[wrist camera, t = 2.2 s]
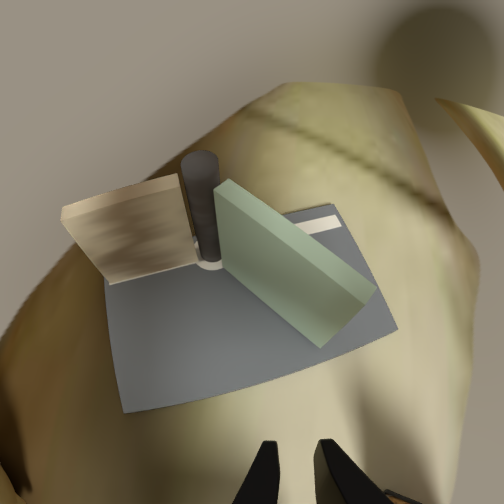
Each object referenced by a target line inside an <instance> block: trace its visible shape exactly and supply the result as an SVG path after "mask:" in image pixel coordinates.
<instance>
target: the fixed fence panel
mask: <svg viewBox="0 0 504 504" xmlns="http://www.w3.org/2000/svg"><path fill="white" fill-rule="evenodd" d="M181 169H182V174H183V179H184V184H185V188H186V193H187V198H188V202H189V207H190V211H191V216H192V220H193V225H194V229H195V233H196V238H197V242H198V246H199V250H200V254H201V257H202V258H203V259H204V260H205V261H207V262H218V261H220V260H221V259H222V258H221V250H220V242H219V234H218V226H217V218H216V209H215V201H214V192H213V189H215V188H216V187H218V186H219V185H220V177H219V164H218V158H217V156H216V155H215V154H214V153H212V152H210V151H204V150H200V151H194V152H192V153H189V154H188V155H186V156H185V157H184V158H183V159H182V161H181ZM61 222H62V224H63V225H64V226H65V228H66V229H67V231H68V232H69V233H70V235H71V236H72V237H73V239H74V240H75V241H76V242H77V244H78V245H79V246H80V248H81V249H82V250H83V251H84V253H85V254H86V255H87V256H88V258H89V259H90V260H91V261H92V263H93V264H94V265H95V266H96V267H97V269H98V270H99V271H100V272H101V273H102V275H103V276H104V277H105V278H106V279H107V280H108V282H109V283H110V284H111V283H115V282H119V281H122V280H126V279H130V278H134V277H138V276H142V275H146V274H150V273H154V272H157V271H161V270H165V269H169V268H173V267H177V266H181V265H185V264H189V263H193V262H197V261H198V257H197V253H196V249H195V245H194V241H193V237H192V233H191V229H190V225H189V221H188V217H187V213H186V209H185V205H184V200H183V196H182V192H181V187H180V183H179V179H178V174H177V173H176V174H172V175H168V176H164V177H160V178H156V179H152V180H148V181H145V182H141V183H138V184H134V185H130V186H127V187H123V188H120V189H117V190H113V191H110V192H107V193H104V194H100V195H97V196H94V197H91V198H88V199H85V200H82V201H79V202H76V203H73V204H70V205H67V206H64V207H62V215H61Z"/></svg>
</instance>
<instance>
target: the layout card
mask: <svg viewBox="0 0 504 504" xmlns="http://www.w3.org/2000/svg"><path fill="white" fill-rule="evenodd" d="M282 216H283V217H285V218H286V219H287V220H289V221H290V222H292V223H293V224H294V225H296V226H297V227H299V228H300V229H301V230H303V231H304V232H305V233H307V234H308V235H309V236H311V237H312V238H313V239H315V240H316V241H318V242H319V243H320V244H322V245H323V246H324V247H326V248H327V249H328V250H330V251H331V252H332V253H334V254H335V255H336V256H338V257H339V258H340V259H341V260H343V261H344V262H345V263H347V264H348V265H349V266H351V267H352V268H353V269H355V270H356V271H357V272H358V273H360V274H361V275H362V276H364V277H365V278H366V279H367V280H369V281H370V282H371V283H372V284H374V285H375V286H376V287H377V289H376V290H375V292H374V293H373V295H372V296H371V297H370V299H369V300H368V302H367V303H366V305H365V306H364V307H363V308H362V309H361V310H360V311H359V312H358V313H357V314H356V315H355V316H354V317H353V318H352V319H351V320H350V321H349V322H348V323H347V324H346V325H345V326H344V327H343V328H342V329H341V330H339V331H338V332H337V333H336V334H335V335H334V336H333V337H332V338H331V339H330V340H329V341H328V342H327V343H326V344H325V345H323V346H322V347H321V348H319V347H317V346H316V345H315V344H314V343H312V342H311V341H310V340H309V339H308V338H306V337H305V336H304V335H303V334H302V333H300V332H299V331H298V330H297V329H295V328H294V327H293V326H292V325H291V324H289V323H288V322H287V321H286V320H285V319H283V318H282V317H281V316H280V315H279V314H277V313H276V312H275V311H274V310H273V309H272V308H270V307H269V306H268V305H267V304H266V303H264V302H263V301H262V300H261V299H260V298H258V297H257V296H256V295H255V294H254V293H253V292H251V291H250V290H249V289H248V288H247V287H246V286H244V285H243V284H242V283H241V282H240V281H239V280H237V279H236V278H235V277H234V276H233V275H232V274H230V273H229V272H228V271H227V270H226V269H225V268H224V267H223V266H222V259H221V260H220V261H218V262H207V261H205V260H204V259H203V258H202V257H201V254H200V250H199V246H198V242H197V238H196V236H193V241H194V245H195V249H196V253H197V257H198V261H197V262H193V263H189V264H185V265H181V266H177V267H173V268H169V269H165V270H161V271H157V272H154V273H150V274H146V275H142V276H138V277H134V278H130V279H126V280H122V281H119V282H115V283H111V284H110V283H109V282H108V280H107V279H106V278H105V277H104V285H105V298H106V309H107V319H108V328H109V336H110V343H111V350H112V356H113V362H114V368H115V374H116V379H117V385H118V390H119V394H120V399H121V404H122V408H123V412H124V413H132V412H139V411H145V410H151V409H157V408H162V407H168V406H173V405H178V404H183V403H187V402H192V401H196V400H201V399H205V398H209V397H213V396H217V395H221V394H225V393H229V392H233V391H236V390H240V389H244V388H247V387H251V386H254V385H257V384H261V383H264V382H267V381H270V380H273V379H277V378H280V377H283V376H286V375H289V374H292V373H295V372H297V371H300V370H303V369H306V368H309V367H311V366H314V365H317V364H319V363H322V362H325V361H327V360H330V359H332V358H335V357H338V356H340V355H342V354H345V353H347V352H350V351H352V350H355V349H357V348H359V347H362V346H364V345H366V344H368V343H371V342H373V341H375V340H377V339H379V338H382V337H384V336H386V335H388V334H390V333H392V332H394V331H396V330H398V327H397V325H396V323H395V321H394V319H393V316H392V314H391V312H390V310H389V308H388V306H387V303H386V301H385V299H384V297H383V295H382V293H381V291H380V289H379V287H378V285H377V283H376V281H375V279H374V277H373V275H372V273H371V271H370V269H369V267H368V265H367V263H366V261H365V259H364V257H363V255H362V254H361V252H360V250H359V248H358V246H357V244H356V242H355V241H354V239H353V237H352V235H351V233H350V231H349V230H348V228H347V226H346V224H345V223H344V221H343V219H342V217H341V216H340V214H339V212H338V210H337V209H336V207H335V205H334V204H331V205H326V206H322V207H317V208H312V209H308V210H303V211H299V212H294V213H290V214H285V215H282Z"/></svg>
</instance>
